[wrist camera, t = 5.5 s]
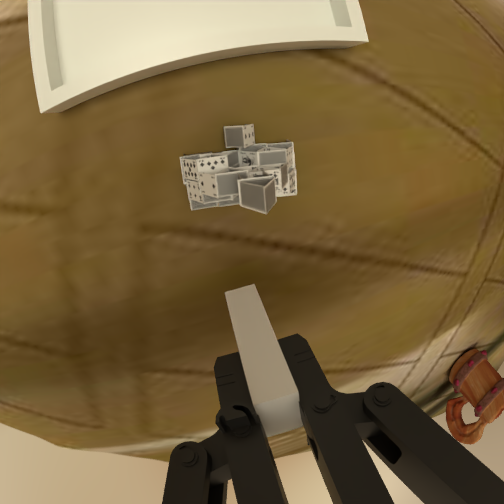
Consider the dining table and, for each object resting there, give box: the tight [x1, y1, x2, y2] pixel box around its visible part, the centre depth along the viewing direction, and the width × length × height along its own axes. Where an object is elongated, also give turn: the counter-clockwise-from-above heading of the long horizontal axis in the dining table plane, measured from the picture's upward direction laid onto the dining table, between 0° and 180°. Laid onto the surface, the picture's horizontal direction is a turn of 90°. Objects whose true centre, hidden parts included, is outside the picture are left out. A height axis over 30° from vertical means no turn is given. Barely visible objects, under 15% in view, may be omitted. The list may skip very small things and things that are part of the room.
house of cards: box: [180, 124, 297, 215], centre depth 15 cm, size 9×9×8 cm
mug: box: [446, 349, 504, 444], centre depth 35 cm, size 15×8×15 cm, turn 156°
